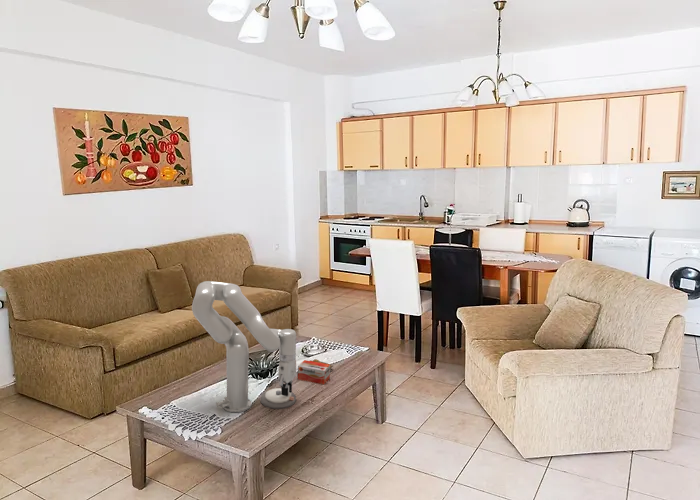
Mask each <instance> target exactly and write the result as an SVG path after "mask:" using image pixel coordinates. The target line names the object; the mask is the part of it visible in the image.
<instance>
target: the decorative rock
mask: <svg viewBox="0 0 700 500" xmlns="http://www.w3.org/2000/svg"><path fill="white" fill-rule="evenodd" d="M309 361H313V362H319V363H324V364H329V365H330V371H332V368H333V367H334V365H332V364H330V363H327V362H323V361H320V360H319V359H318V358H317V359H316V358H315V359H311V360H309Z"/></svg>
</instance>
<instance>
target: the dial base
mask: <svg viewBox="0 0 700 500" xmlns="http://www.w3.org/2000/svg"><path fill="white" fill-rule="evenodd" d="M266 392H267V391H266ZM266 392H263V393H262V395H261V396H260V404H261V405H262V406H263V407H265V408H268V409H273V410H281V409H282V410H283V409H288V408H289V407H292V406H294V405H295V404H296V401H297V396H296V394H295V393H294V392H291V396H292V397H294V400H293V401H292V400H289V401H287V402H284V403H272V402H269V401H267V400H266V398H265V394H266Z"/></svg>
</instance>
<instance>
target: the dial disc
mask: <svg viewBox="0 0 700 500" xmlns="http://www.w3.org/2000/svg"><path fill="white" fill-rule="evenodd" d="M287 388H288V396H284V395H281V387H278V388H271V389H269V390H267V391H266V394H265V398H266V400H267V401H269V402H272V403H284V402H287V401H289V400H292V401H293V400H294V397H292V396H291V393H290V392H289V385H288V386H287Z"/></svg>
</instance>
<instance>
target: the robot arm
mask: <svg viewBox="0 0 700 500" xmlns="http://www.w3.org/2000/svg"><path fill="white" fill-rule="evenodd" d="M215 301H222V302H223V303H224V305H225V306H226V307H227V308H228V309H229V310H230V311H231V312H232V313H233V314H234V315H235V316H236V317H237V318H238V320H239V321H240V322H241V323H242V324H243V325H244V327H245V328H246V330H247V331H249V333H250V334H251V335H252V337H253V338H254V339H255V340H256V342H258V344H259V345H261V346H262V347H263V349H264V350H265V351H267V352H270V353H274V352H276V351H278V355H279V356H278V360H279V363H278V371H277V372H278V375H277V376H278V378H277V379H278V382H279V383H278V386H279V387H280V388H281V395H284V396H288V388H287V386H288V385H289V392H290V393H291V392H292V391H293V380H294V379H295V377H297V360H296V350H297V332H296V330H294V329H291V328H284V329H278V328H270V327H269V326H268V325H267V323H266V322H265V321H264V319H263V317H262V315H261V313H260V311H259V310H258V309H257V308H256V306H254V304H253V303H251V301H250V300H249V299H248V298H247V297H246V296H245V295H244V294H243V292H242V289H241V287H240V286H239V285H238V284H236V283H230V282H223V281H222V282H220V281H211V280H206V281H205V280H204V281H202V282H200V283H198V285H197V287H196V290H195V294H194V297H193V299H192V304H191V312H192V314H193V316H194V318H195V319H196V320H197V321H198V323H199V324H200V325H201V326H202V327H203V329H204V330H205V331H206V332H207V333H208V334H209V335H210V337H211V338H212V339H213V340H214V341H215V342H216V343H218V344H224V346H225V349H226V355H225V356H226V396H225V397H224V399H222V401H218V402H216V403H215V404H216V407H221V408H222V409H224V410H225V411H227V412H229V413H243V412H246V411H249V410H250V408H251V407H252V405H253V404H252V401H251V399H249V360H250V359H249V357H250V351H249V344H248V339H247V337H246V335H244V333H243V332H242V331H241V329H240V328H239V327H238V326H237V325H236V324H235V323H234V322H233V321H232V320H231V319H230V318H229V317H228V316H224V315H220V314H219V312H218V311H217V310H216V309H214V307H213V305H214V302H215Z"/></svg>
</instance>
